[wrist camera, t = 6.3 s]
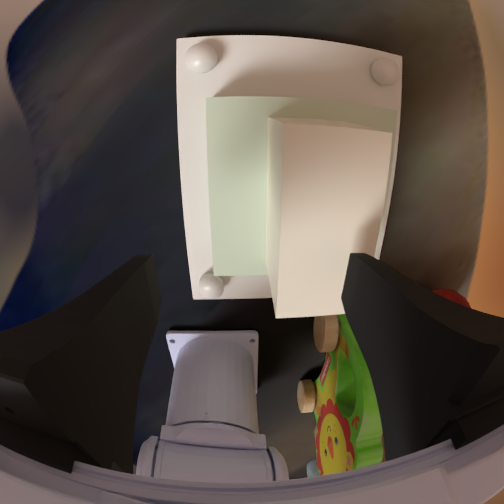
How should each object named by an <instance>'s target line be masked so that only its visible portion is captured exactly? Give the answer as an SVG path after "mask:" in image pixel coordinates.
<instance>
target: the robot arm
mask: <svg viewBox="0 0 504 504" xmlns="http://www.w3.org/2000/svg"><path fill="white" fill-rule="evenodd" d="M341 300H342V304H343V307H344V311H345V314H346V318H347V320H348V323H349V325H350V327H351V330H352V332H353V334H354V337H355V339H356V341H357V343H358V346H359V348H360V350H361V353H362V355H363V357H364V360H365V362H366V364H367V367H368V370H369V373H370V376H371V380H372V383H373V387H374V391H375V395H376V399H377V404H378V408H379V413H380V419H381V425H382V431H383V438H384V448H385V459H386V462H382V463H379V464H375V465H371V466H367V467H363V468H358V469H354V470H349V471H344V472H339V473H334V474H328V475H322V476H316V477H309V478H301V479H293V480H289V477H288V470H287V465H286V462H285V460H284V458H283V456H282V455H281V454H280V453H279V452H278V450H277V449H276V448H275V447H266V436H265V435H263V434H259V430H258V417H257V403H256V393H257V376H258V338H259V336H258V332H257V331H255V330H243V331H168V332H167V334H166V339H167V342H168V346H169V350H170V354H171V357H172V361H173V365H174V368H175V369H174V375H173V381H172V387H171V393H170V399H169V406H168V413H167V419H166V425H162V428H161V435H160V437H157V436H151V437H150V438H149V439H148V440H146V441H145V442H143V444H142V446H141V449H140V453H139V457H138V462H137V470H136V475H134V474H133V441H134V425H135V415H136V406H137V398H138V391H139V385H140V379H141V375H142V371H143V368H144V364H145V361H146V358H147V354H148V351H149V348H150V345H151V342H152V338H153V335H154V332H155V329H156V326H157V322H158V316H159V311H160V305H161V297H160V292H159V286H158V281H157V275H156V269H155V263H154V257H153V255H137V256H135V257H133V258H132V259H130V260H129V261H127V262H126V263H125V264H123V265H122V266H121V267H119V268H118V269H117V270H115V271H114V272H112V273H111V274H110V275H108V276H107V277H106V278H104V279H103V280H102V281H100V282H99V283H97V284H96V285H94V286H93V287H92V288H90V289H89V290H87V291H86V292H84V293H83V294H81V295H80V296H78V297H77V298H75V299H73V300H72V301H70V302H68V303H66V304H65V305H63V306H61V307H59V308H57V309H55V310H53V311H51V312H49V313H47V314H45V315H43V316H41V317H39V318H37V319H34V320H32V321H30V322H27V323H25V324H22V325H19V326H17V327H14V328H11V329H8V330H5V331H1V332H0V504H483V503H485V502H486V501H488V500H489V499H490V498H491V497H493V496H495V495H496V494H497V493H498V492H500V491H501V490H502V489H504V318H501V317H498V316H494V315H490V314H487V313H483V312H480V311H477V310H474V309H471V308H469V307H466V306H463V305H461V304H458V303H456V302H453V301H451V300H449V299H447V298H445V297H443V296H440V295H438V294H436V293H434V292H432V291H430V290H428V289H427V288H425V287H423V286H421V285H420V284H418V283H416V282H414V281H413V280H411V279H409V278H407V277H406V276H404V275H402V274H401V273H399V272H398V271H396V270H394V269H393V268H391V267H389V266H388V265H386V264H385V263H383V262H381V261H380V260H378V259H376V258H374V257H372V256H370V255H368V254H366V253H350V256H349V261H348V266H347V271H346V276H345V281H344V286H343V290H342V295H341ZM171 339H173V340H171ZM251 339H254V340H251Z"/></svg>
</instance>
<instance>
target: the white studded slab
mask: <svg viewBox="0 0 504 504" xmlns="http://www.w3.org/2000/svg"><path fill="white" fill-rule="evenodd" d="M401 94H402V56H399V55H395V54H391V53H387V52H383V51H379V50H374V49H370V48H365V47H360V46H355V45H350V44H344V43H338V42H331V41H324V40H316V39H307V38H297V37H284V36H264V35H224V36H204V37H191V38H181V39H177V116H178V141H179V159H180V175H181V188H182V201H183V213H184V223H185V234H186V243H187V253H188V261H189V270H190V278H191V286H192V293H193V299H248V298H272V293H271V288H270V282H269V276H268V271H267V265H266V231H267V174H268V117H286V118H308V119H323V120H335V121H346V122H350V123H355V124H359V125H363V126H367V127H371V128H375V129H379V130H383V131H387V132H390V133H393V134H392V145H391V155H390V165H389V173H388V181H387V188H386V195H385V202H384V208H383V214H382V220H381V226H380V231H379V236H378V241H377V247H376V251H375V256H374V258H376V259H378V260H379V257H380V253H381V248H382V243H383V238H384V234H385V228H386V223H387V218H388V212H389V206H390V200H391V194H392V188H393V181H394V174H395V166H396V158H397V149H398V138H399V127H400V113H401Z"/></svg>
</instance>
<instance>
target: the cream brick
mask: <svg viewBox="0 0 504 504" xmlns="http://www.w3.org/2000/svg"><path fill="white" fill-rule="evenodd" d="M392 134H393V133H390V132H387V131H383V130H379V129H375V128H371V127H367V126H363V125H359V124H355V123H350V122H346V121H335V120H323V119H308V118H286V117H268V174H267V231H266V265H267V271H268V276H269V282H270V288H271V293H272V299H273V305H274V311H275V317H276V318H295V317H311V316H325V315H338V314H345V311H344V307H343V304H342V300H341V295H342V290H343V286H344V281H345V276H346V271H347V266H348V261H349V256H350V253H366V254H368V255H370V256H372V257H374V256H375V251H376V247H377V241H378V236H379V231H380V226H381V220H382V214H383V208H384V202H385V195H386V188H387V181H388V173H389V165H390V155H391V145H392Z"/></svg>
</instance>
